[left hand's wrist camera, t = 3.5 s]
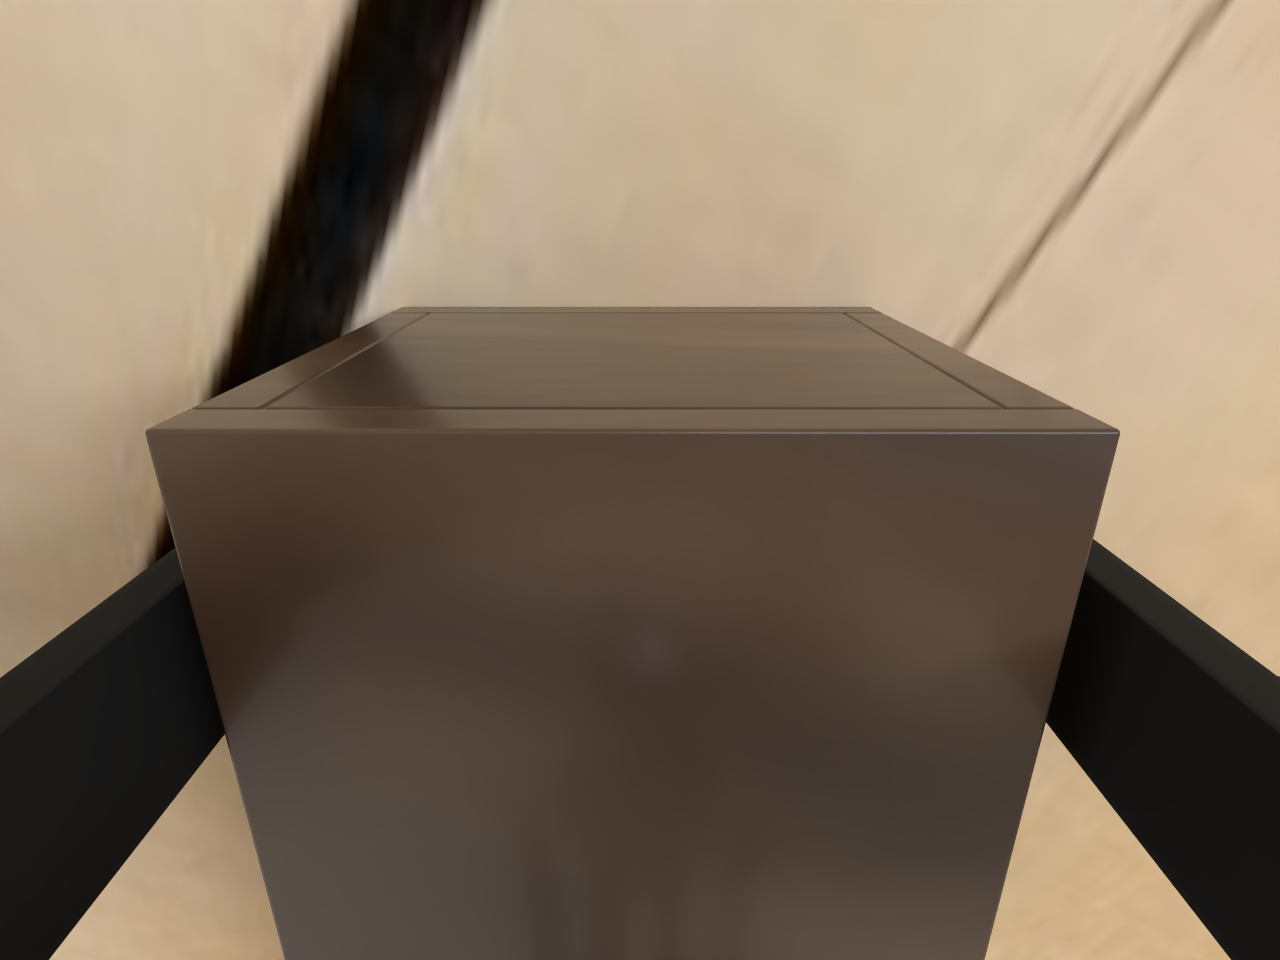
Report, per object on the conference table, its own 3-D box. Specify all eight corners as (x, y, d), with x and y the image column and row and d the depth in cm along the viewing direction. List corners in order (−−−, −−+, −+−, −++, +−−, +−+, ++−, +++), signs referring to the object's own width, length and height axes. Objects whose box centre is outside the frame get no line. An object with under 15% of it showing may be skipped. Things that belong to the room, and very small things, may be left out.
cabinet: (798, 935, 25) (886, 1346, 16) (476, 935, 25) (386, 1345, 16) (871, 307, 17) (1123, 429, 8) (401, 307, 17) (142, 430, 8)
